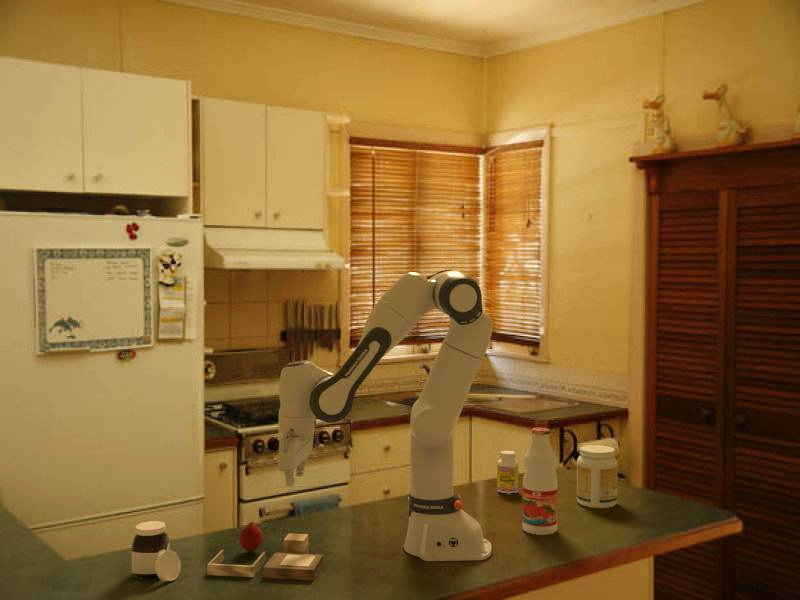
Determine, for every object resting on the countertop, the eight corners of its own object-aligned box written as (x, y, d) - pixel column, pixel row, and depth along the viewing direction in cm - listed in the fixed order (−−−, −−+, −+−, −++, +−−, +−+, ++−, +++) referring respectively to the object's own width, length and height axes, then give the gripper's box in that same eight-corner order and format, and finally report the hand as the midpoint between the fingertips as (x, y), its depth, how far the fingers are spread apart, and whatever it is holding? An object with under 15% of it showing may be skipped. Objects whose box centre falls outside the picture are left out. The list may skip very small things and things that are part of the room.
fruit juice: (561, 527, 235) (562, 427, 233) (551, 537, 226) (552, 433, 225) (528, 522, 239) (529, 424, 237) (517, 532, 230) (518, 430, 229)
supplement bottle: (496, 494, 268) (496, 454, 267) (497, 488, 274) (497, 449, 273) (517, 495, 266) (518, 455, 266) (518, 489, 273) (518, 450, 272)
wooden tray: (323, 565, 206) (323, 554, 206) (313, 580, 196) (313, 569, 196) (221, 559, 209) (221, 549, 209) (207, 574, 199) (207, 563, 199)
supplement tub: (616, 499, 262) (617, 445, 261) (617, 510, 250) (618, 454, 250) (576, 496, 265) (577, 443, 264) (575, 507, 253) (576, 452, 252)
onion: (257, 557, 211) (257, 525, 210) (235, 555, 212) (235, 524, 212) (265, 549, 217) (265, 518, 216) (244, 547, 218) (244, 517, 217)
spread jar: (142, 566, 205) (141, 518, 204) (188, 566, 205) (188, 519, 204) (124, 585, 193) (123, 535, 192) (173, 586, 193) (173, 535, 192)
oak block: (308, 553, 214) (308, 534, 214) (303, 560, 209) (303, 540, 209) (289, 552, 215) (289, 533, 214) (283, 559, 210) (283, 539, 209)
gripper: (298, 435, 200) (296, 492, 201) (318, 418, 220) (316, 471, 221) (272, 433, 201) (270, 491, 201) (294, 417, 221) (293, 469, 222)
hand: (295, 480), depth 211 cm, fingers open, 8 cm apart
